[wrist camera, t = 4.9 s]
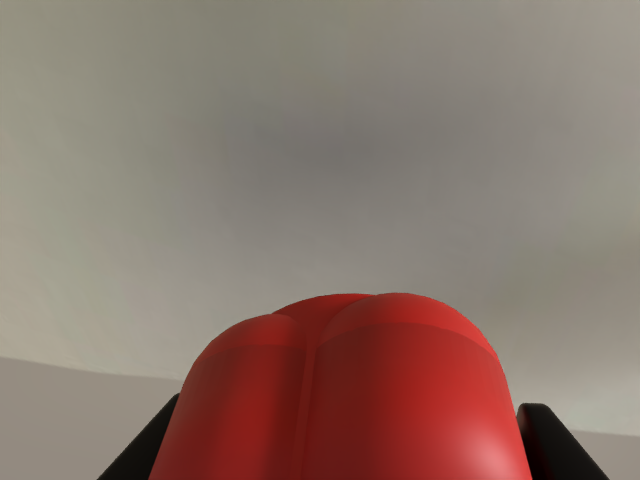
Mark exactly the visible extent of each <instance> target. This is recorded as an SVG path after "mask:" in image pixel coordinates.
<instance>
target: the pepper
mask: <svg viewBox="0 0 640 480" xmlns="http://www.w3.org/2000/svg"><path fill="white" fill-rule="evenodd" d="M148 480H532V477H531V473H530V469H529V465H528V461H527V457H526V454H525V450H524V446H523V442H522V438H521V434H520V431H519V427H518V423H517V419H516V415H515V411H514V408H513V404H512V400H511V396H510V392H509V388H508V385H507V381H506V377H505V374H504V372H503V369H502V367H501V364H500V362H499V359H498V357H497V354H496V353H495V351H494V350H493V348H492V347H491V345H490V344H489V343H488V341H487V340H486V338H485V337H484V336H483V334H482V333H481V331H480V330H479V329H478V328H477V327H476V326H475V325H474V324H473V323H472V322H470V321H469V320H468V319H467V318H466V317H464V316H463V315H462V314H461V313H459V312H458V311H457V310H455V309H453V308H451V307H450V306H448V305H446V304H445V303H442V302H440V301H437V300H434V299H431V298H429V297H425V296H420V295H415V294H410V293H386V294H379V295H370V294H355V293H354V294H333V295H325V296H318V297H314V298H310V299H305V300H302V301H299V302H296V303H293V304H290V305H288V306H285V307H283V308H281V309H280V310H278V311H276V312H274V313H272V314H266V315H262V316H258V317H254V318H251V319H247V320H244V321H242V322H240V323H237V324H235V325H233V326H232V327H230V328H229V329H227V330H226V331H224V332H223V333H221V334H220V335H219V336H217V337H216V338H215V339H214V340H212V341H211V342H210V343H209V345H208V346H207V347H206V348H205V349H204V350H203V352H202V353H201V354H200V355H199V357H198V358H197V359H196V361H195V362H194V364H193V365H192V367H191V369H190V371H189V373H188V375H187V377H186V380H185V382H184V384H183V387H182V390H181V392H180V395H179V398H178V400H177V403H176V406H175V408H174V411H173V414H172V417H171V419H170V422H169V425H168V427H167V430H166V433H165V436H164V438H163V441H162V444H161V446H160V449H159V452H158V455H157V457H156V460H155V463H154V465H153V468H152V471H151V474H150V476H149V479H148Z"/></svg>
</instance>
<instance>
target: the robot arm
mask: <svg viewBox="0 0 640 480" xmlns="http://www.w3.org/2000/svg"><path fill="white" fill-rule="evenodd" d="M179 395H180V393H178V394H176V395H174V396H173V397H172V398H171V399H170V400H169V402H168V403H167V404H166V405H165V406H164V407H163V408H162V409H161V410H160V411H159V413H158V414H157V415H156V416H155V417H154V418H153V419H152V420H151V421H150V422H149V423H148V425H147V426H146V427H145V428H144V429H143V430H142V431H141V432H140V433H139V434H138V436H136V438H135V439H134V440H133V441H132V442H131V443H130V444H129V445H128V446H127V447H126V448H125V450H124V451H123V452H122V453H121V454H120V455H119V456H118V457H117V458H116V459H115V460H114V462H113V463H112V464H111V465H110V466H109V467H108V468H107V469H106V470H105V471H104V473H103V474H102V475H101V476H100V477H99V478H98V479H97V480H148V479H149V476H150V474H151V471H152V468H153V465H154V463H155V460H156V457H157V455H158V452H159V449H160V446H161V444H162V441H163V438H164V436H165V433H166V430H167V427H168V425H169V422H170V419H171V417H172V414H173V411H174V408H175V406H176V403H177V400H178V398H179ZM516 419H517V423H518V427H519V431H520V434H521V438H522V442H523V446H524V450H525V454H526V457H527V461H528V465H529V469H530V473H531V477H532V480H609V478H608V477H607V476H606V475H605V474H604V472H603V471H602V470H601V469H600V468H599V466H598V465H597V464H596V463H595V462H594V461H593V459H592V458H591V457H590V456H589V455H588V453H587V452H586V451H585V450H584V449H583V447H582V446H581V445H580V444H579V443H578V441H577V440H576V439H575V438H574V437H573V435H572V434H571V433H570V432H569V431H568V429H567V428H566V427H565V426H564V425H563V424H562V422H561V421H560V420H559V419H558V418H557V416H556V415H555V414H554V413H553V412H552V410H551V409H550V408H549V407H548V406H546V405H545V404H539V403H522V404H521V405H520V406H519V408H518V412H517V416H516Z"/></svg>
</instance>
